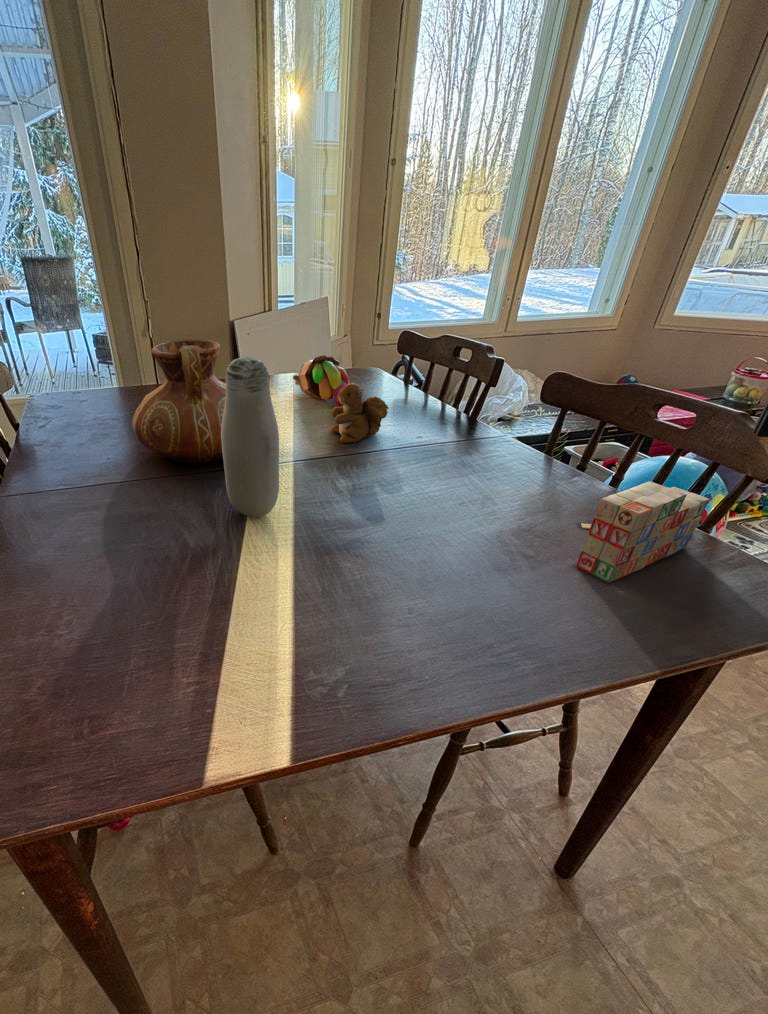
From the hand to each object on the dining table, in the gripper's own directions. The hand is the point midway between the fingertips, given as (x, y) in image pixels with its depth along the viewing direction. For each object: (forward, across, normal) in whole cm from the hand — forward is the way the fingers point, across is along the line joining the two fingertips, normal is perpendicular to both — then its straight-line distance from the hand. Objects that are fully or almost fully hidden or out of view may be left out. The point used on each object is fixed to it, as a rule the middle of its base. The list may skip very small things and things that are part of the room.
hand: (767, 434), depth 70 cm
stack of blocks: (+23, +6, +8) cm, 25 cm away
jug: (+21, +40, +101) cm, 110 cm away
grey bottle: (+22, +8, +76) cm, 79 cm away
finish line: (+23, +16, +5) cm, 28 cm away
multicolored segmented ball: (+22, +93, +79) cm, 124 cm away
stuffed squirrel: (+22, +58, +62) cm, 88 cm away
